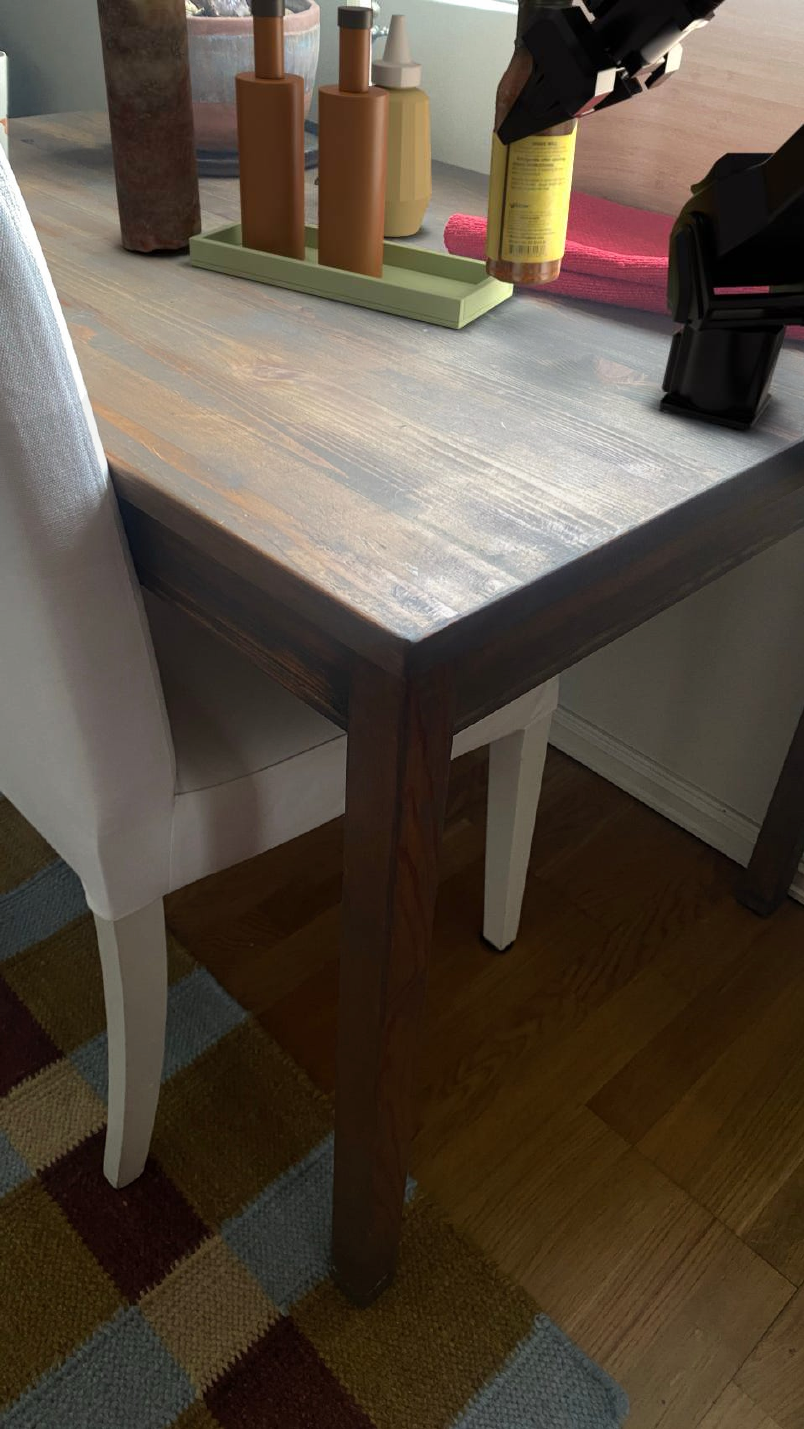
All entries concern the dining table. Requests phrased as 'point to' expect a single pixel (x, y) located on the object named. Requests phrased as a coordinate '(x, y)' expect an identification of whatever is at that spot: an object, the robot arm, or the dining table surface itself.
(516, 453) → the dining table surface
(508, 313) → the dining table surface
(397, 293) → the bottle tray
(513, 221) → the sauce bottle
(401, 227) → the squeeze bottle
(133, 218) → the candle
